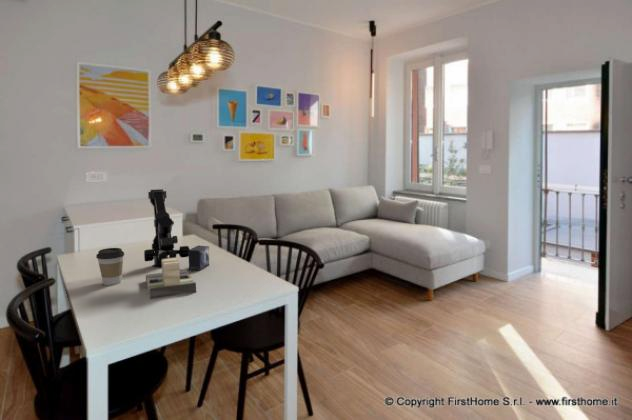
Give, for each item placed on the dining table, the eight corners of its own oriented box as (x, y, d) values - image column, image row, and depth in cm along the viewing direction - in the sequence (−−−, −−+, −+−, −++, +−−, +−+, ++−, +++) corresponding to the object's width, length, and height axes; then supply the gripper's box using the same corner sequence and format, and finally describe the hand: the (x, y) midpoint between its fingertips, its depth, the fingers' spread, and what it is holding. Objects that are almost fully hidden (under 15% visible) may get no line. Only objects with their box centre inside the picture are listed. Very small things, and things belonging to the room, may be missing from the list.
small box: (200, 271, 199) (199, 250, 198) (188, 270, 200) (187, 249, 199) (210, 265, 209) (209, 245, 208) (198, 264, 211) (197, 245, 209)
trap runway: (145, 281, 184) (145, 272, 183) (186, 275, 191) (186, 267, 191) (150, 298, 161) (149, 289, 161) (196, 292, 169) (195, 282, 169)
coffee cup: (132, 280, 185) (130, 248, 183) (112, 288, 174) (109, 254, 172) (112, 277, 188) (110, 246, 186) (92, 285, 178) (89, 252, 176)
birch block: (162, 281, 174) (161, 258, 172) (177, 279, 176) (176, 257, 175) (165, 287, 166) (163, 264, 164) (180, 285, 168) (179, 262, 167)
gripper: (143, 231, 173) (146, 262, 165) (188, 228, 181) (193, 257, 173) (143, 245, 181) (146, 276, 173) (186, 241, 189) (191, 270, 181)
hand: (169, 269), depth 175 cm, fingers closed
